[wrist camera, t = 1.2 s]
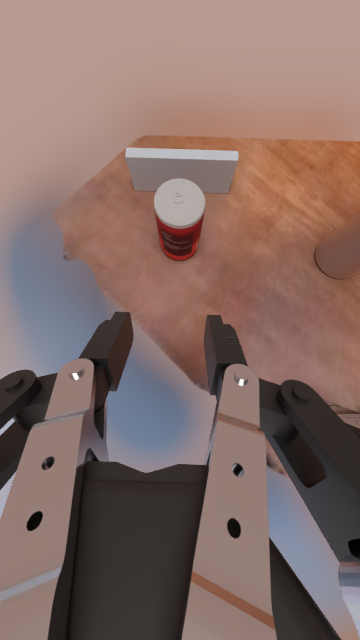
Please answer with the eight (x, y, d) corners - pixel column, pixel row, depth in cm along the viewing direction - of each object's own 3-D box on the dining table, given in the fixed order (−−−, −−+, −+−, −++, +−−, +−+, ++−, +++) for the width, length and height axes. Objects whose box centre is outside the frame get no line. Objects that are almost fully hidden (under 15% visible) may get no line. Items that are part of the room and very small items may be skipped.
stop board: (227, 165, 41) (237, 128, 34) (227, 193, 40) (238, 160, 33) (137, 162, 41) (128, 124, 34) (134, 190, 40) (125, 157, 33)
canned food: (186, 220, 39) (189, 169, 28) (205, 251, 38) (215, 211, 27) (153, 235, 38) (143, 190, 27) (172, 268, 37) (168, 234, 26)
